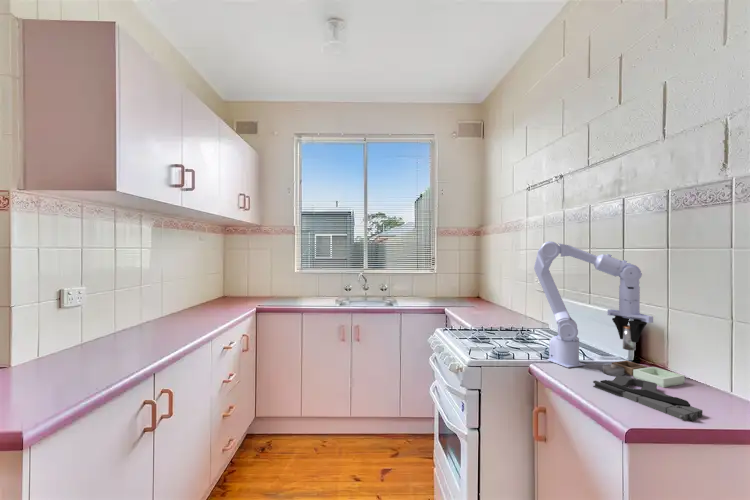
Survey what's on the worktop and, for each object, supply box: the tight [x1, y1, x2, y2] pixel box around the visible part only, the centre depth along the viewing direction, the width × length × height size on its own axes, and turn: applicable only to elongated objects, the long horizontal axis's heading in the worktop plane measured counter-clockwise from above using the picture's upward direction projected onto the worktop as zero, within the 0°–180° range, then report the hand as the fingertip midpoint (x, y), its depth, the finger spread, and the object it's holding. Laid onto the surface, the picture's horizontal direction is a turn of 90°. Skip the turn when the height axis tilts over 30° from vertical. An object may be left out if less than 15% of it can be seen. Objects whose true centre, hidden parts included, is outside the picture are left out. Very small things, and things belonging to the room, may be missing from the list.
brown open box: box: [602, 360, 648, 377], centre depth 126 cm, size 7×14×3 cm, turn 109°
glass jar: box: [622, 324, 637, 351], centre depth 127 cm, size 4×4×8 cm
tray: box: [632, 366, 685, 388], centre depth 118 cm, size 9×9×2 cm
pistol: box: [592, 375, 703, 422], centre depth 105 cm, size 2×26×15 cm
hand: (629, 340), depth 127 cm, fingers closed on glass jar, 4 cm apart
